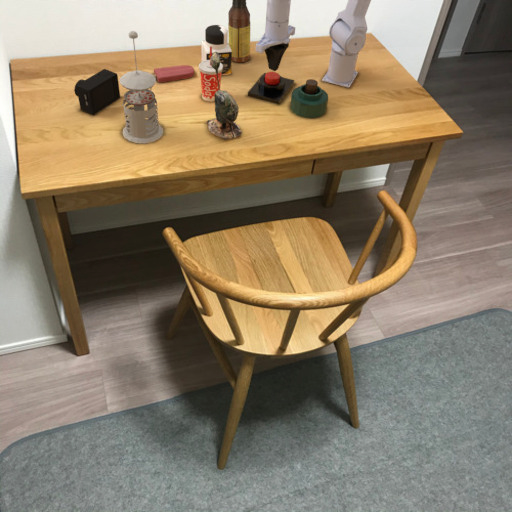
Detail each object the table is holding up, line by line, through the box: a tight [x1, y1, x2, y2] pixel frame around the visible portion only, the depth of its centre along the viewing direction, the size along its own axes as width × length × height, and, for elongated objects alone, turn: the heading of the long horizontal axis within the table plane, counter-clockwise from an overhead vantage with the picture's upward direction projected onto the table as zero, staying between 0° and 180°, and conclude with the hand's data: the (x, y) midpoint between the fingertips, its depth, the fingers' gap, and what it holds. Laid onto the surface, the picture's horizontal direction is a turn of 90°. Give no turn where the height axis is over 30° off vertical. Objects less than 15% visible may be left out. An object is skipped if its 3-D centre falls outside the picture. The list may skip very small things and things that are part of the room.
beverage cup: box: [198, 46, 223, 103], centre depth 145 cm, size 6×6×14 cm
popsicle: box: [153, 64, 195, 83], centre depth 155 cm, size 5×2×15 cm
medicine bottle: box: [200, 24, 233, 76], centre depth 156 cm, size 7×7×12 cm
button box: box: [247, 72, 296, 105], centre depth 153 cm, size 12×9×3 cm
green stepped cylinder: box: [289, 83, 329, 119], centre depth 147 cm, size 9×9×6 cm
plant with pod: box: [206, 52, 243, 140], centre depth 132 cm, size 8×11×20 cm
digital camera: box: [73, 68, 121, 116], centre depth 142 cm, size 10×5×7 cm, turn 149°
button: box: [265, 71, 281, 85], centre depth 152 cm, size 4×4×2 cm
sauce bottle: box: [227, 0, 251, 63], centre depth 158 cm, size 7×6×20 cm
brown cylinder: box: [305, 78, 319, 95], centre depth 146 cm, size 3×3×7 cm
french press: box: [118, 30, 164, 144], centre depth 129 cm, size 10×12×25 cm
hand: (273, 69), depth 150 cm, fingers closed
